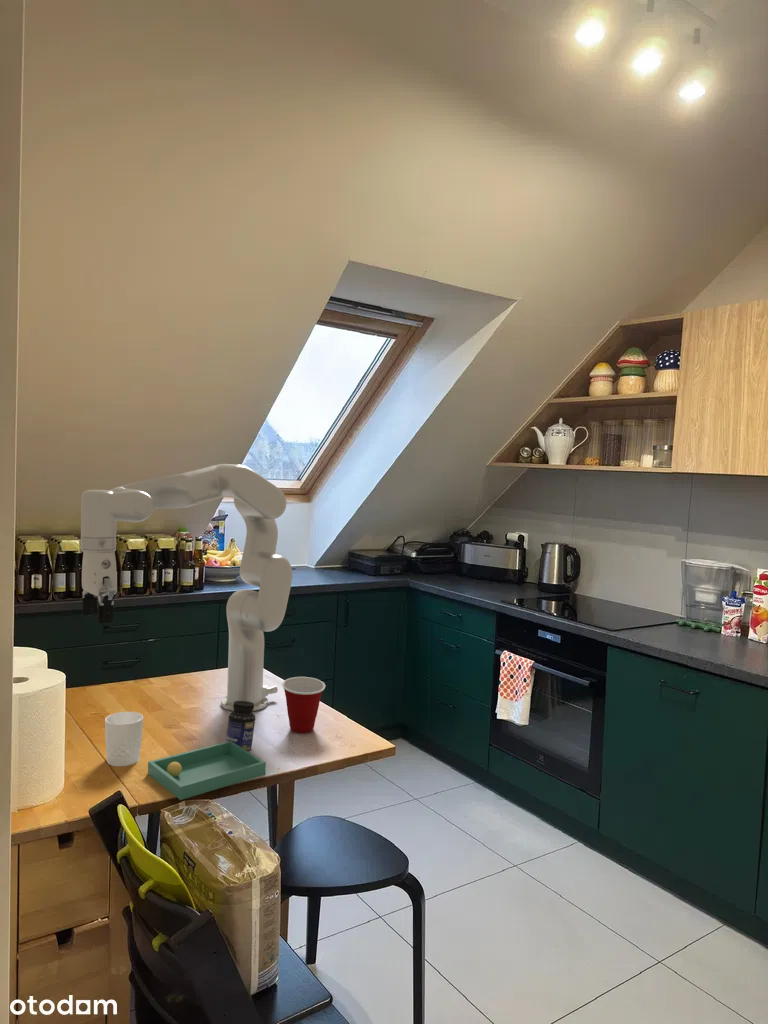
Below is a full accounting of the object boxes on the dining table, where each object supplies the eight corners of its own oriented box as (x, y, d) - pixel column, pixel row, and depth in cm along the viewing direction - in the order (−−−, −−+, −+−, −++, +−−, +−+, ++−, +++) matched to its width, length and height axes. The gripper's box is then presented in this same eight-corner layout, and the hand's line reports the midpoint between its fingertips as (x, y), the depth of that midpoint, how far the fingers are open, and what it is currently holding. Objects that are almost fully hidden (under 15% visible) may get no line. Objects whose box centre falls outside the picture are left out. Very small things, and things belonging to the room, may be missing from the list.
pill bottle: (245, 756, 165) (251, 707, 166) (219, 751, 166) (226, 703, 167) (254, 749, 171) (260, 702, 172) (230, 745, 172) (236, 698, 173)
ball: (177, 771, 155) (177, 758, 154) (184, 776, 152) (184, 763, 152) (164, 775, 153) (164, 761, 152) (170, 780, 150) (171, 766, 150)
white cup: (110, 754, 163) (110, 711, 162) (146, 755, 164) (147, 711, 163) (99, 769, 155) (100, 724, 154) (137, 770, 156) (138, 724, 155)
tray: (229, 754, 166) (230, 740, 166) (265, 776, 156) (265, 762, 155) (147, 776, 153) (148, 761, 153) (180, 802, 142) (180, 786, 142)
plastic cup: (289, 740, 176) (291, 692, 175) (274, 725, 186) (276, 679, 185) (330, 734, 181) (332, 687, 180) (314, 719, 191) (315, 674, 190)
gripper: (129, 548, 162) (128, 624, 163) (101, 539, 175) (99, 609, 176) (95, 549, 157) (94, 628, 158) (68, 540, 170) (67, 613, 171)
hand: (97, 618), depth 167 cm, fingers open, 9 cm apart
